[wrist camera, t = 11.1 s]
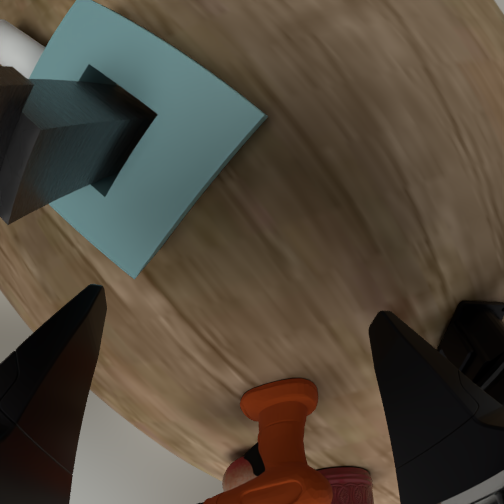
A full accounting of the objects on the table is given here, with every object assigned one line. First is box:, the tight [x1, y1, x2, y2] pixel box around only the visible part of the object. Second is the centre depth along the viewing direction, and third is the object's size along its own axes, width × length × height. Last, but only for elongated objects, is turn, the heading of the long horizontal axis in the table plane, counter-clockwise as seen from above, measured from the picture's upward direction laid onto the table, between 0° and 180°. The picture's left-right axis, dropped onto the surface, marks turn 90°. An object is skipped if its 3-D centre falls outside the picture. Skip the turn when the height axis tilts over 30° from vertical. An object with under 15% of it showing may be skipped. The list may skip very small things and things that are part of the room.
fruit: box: [222, 456, 257, 492], centre depth 30 cm, size 8×8×8 cm
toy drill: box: [198, 378, 333, 504], centre depth 22 cm, size 5×19×15 cm, turn 120°
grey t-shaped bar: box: [0, 66, 158, 225], centre depth 12 cm, size 4×6×14 cm, turn 140°
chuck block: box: [0, 0, 268, 279], centre depth 15 cm, size 24×12×4 cm, turn 50°
